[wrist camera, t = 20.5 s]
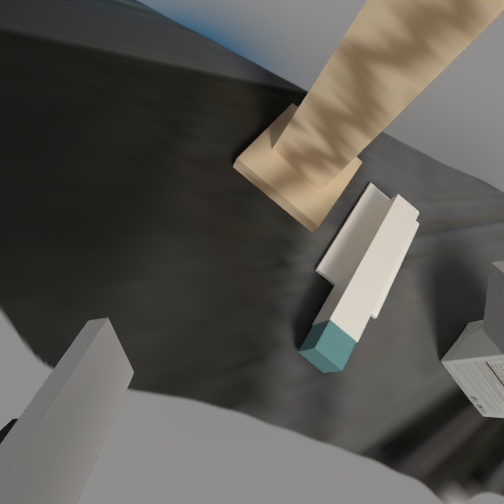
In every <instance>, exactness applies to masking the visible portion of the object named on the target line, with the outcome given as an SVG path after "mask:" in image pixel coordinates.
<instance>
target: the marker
mask: <svg viewBox="0 0 504 504" xmlns="http://www.w3.org/2000/svg"><path fill="white" fill-rule="evenodd" d="M419 213H420V212H419V211H417V210H416V209H415V208H414V207H413V206H412V205H410V204H409V203H408V202H407V201H406V200H405V199H403V198H402V197H401V196H400V195H399V194H398V195H396V196H395V197H393V198H392V199H391V200H389V201H388V202H386V203H385V204H384V205H382V206H381V207H379V209H378V211H377V212H376V214H375V216H374V218H373V219H372V221H371V223H370V225H369V226H368V228H367V230H366V232H365V233H364V235H363V237H362V239H361V240H360V242H359V244H358V246H357V247H356V249H355V251H354V253H353V254H352V256H351V258H350V260H349V261H348V263H347V265H346V266H345V268H344V270H343V272H342V273H341V275H340V277H339V279H338V280H337V282H336V284H335V286H334V287H333V289H332V291H331V293H330V294H329V296H328V298H327V300H326V301H325V303H324V305H323V307H322V308H321V310H320V312H319V313H318V315H317V317H316V319H315V320H314V322H313V324H312V326H313V327H312V328H311V330H310V332H309V334H308V335H307V337H306V339H305V341H304V342H303V344H302V346H301V348H300V350H299V351H298V352H299V353H300V354H301V355H302V356H304V357H305V358H306V359H307V360H308V361H310V362H311V363H312V364H313V365H315V366H316V367H317V368H318V369H320V370H321V371H322V372H323V373H325V372H335V371H342V370H343V368H344V366H345V364H346V362H347V360H348V358H349V356H350V354H351V351H352V349H353V347H354V345H355V343H356V342H358V341H359V339H360V336H361V334H362V332H363V330H364V328H365V326H366V324H367V322H368V320H369V318H370V315H371V313H372V311H373V309H374V307H375V305H376V303H377V301H378V299H379V297H380V294H381V292H382V290H383V288H384V286H385V284H386V282H387V280H388V278H389V276H390V273H391V271H392V269H393V267H394V265H395V263H396V261H397V259H398V257H399V255H400V252H401V250H402V248H403V246H404V244H405V242H406V240H407V238H408V236H409V234H410V231H411V229H412V227H413V225H414V223H415V221H416V219H417V217H418V215H419Z"/></svg>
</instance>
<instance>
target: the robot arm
mask: <svg viewBox="0 0 504 504" xmlns="http://www.w3.org/2000/svg"><path fill="white" fill-rule="evenodd" d="M482 330H483V331H484V332H485V333H486V335H487V336H488V337H489V338H490V339H491V340H492V342H493V343H494V344H495V345H496V346H497V347H498V349H499V350H500V351H501V352H502V353H503V354H504V261H498V262H491V267H490V274H489V282H488V289H487V297H486V304H485V312H484V319H483V327H482ZM133 374H134V371H133V369H132V367H131V365H130V363H129V361H128V359H127V357H126V355H125V352H124V350H123V348H122V346H121V344H120V342H119V340H118V338H117V335H116V333H115V331H114V329H113V327H112V325H111V323H110V321H109V319H108V318H103V319H96V320H89V321H88V322H87V323H86V325H85V326H84V328H83V329H82V330H81V332H80V333H79V335H78V336H77V337H76V339H75V340H74V342H73V343H72V344H71V346H70V347H69V349H68V350H67V351H66V353H65V354H64V356H63V357H62V358H61V360H60V361H59V363H58V364H57V365H56V367H55V368H54V370H53V371H52V372H51V374H50V376H49V377H48V378H47V380H46V381H45V382H44V384H43V385H42V387H41V388H40V389H39V391H38V392H37V394H36V395H35V396H34V398H33V399H32V401H31V402H30V403H29V405H28V406H27V408H26V409H25V410H24V412H23V413H22V415H21V416H20V417H19V419H12V420H11V421H10V422H9V423H8V424H7V425H6V426H5V427H4V428H3V429H2V430H1V431H0V504H77V502H78V500H79V498H80V495H81V493H82V491H83V489H84V486H85V484H86V482H87V479H88V477H89V475H90V472H91V470H92V468H93V466H94V463H95V461H96V459H97V456H98V454H99V452H100V450H101V447H102V445H103V443H104V440H105V438H106V436H107V434H108V431H109V429H110V427H111V424H112V422H113V420H114V417H115V415H116V413H117V411H118V408H119V406H120V404H121V401H122V399H123V397H124V394H125V392H126V390H127V388H128V385H129V383H130V381H131V378H132V376H133Z"/></svg>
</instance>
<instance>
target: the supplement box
mask: <svg viewBox="0 0 504 504" xmlns="http://www.w3.org/2000/svg"><path fill="white" fill-rule="evenodd" d="M482 327H483V320H479V321H474V322H470V323H468V324H467V326H466V328H465V329H464V331H463V332H462V334H461V335H460V337H459V338H458V339H457V341H456V342H455V343H454V344H453V346H452V347H451V348H450V350H449V351H448V352H447V353H446V354H445V356H444V357H443V358H442V359H441V363H442V364H443V365H444V367H445V368H446V369H447V371H448V372H449V373H450V375H451V376H452V377H453V379H454V380H455V381H456V383H457V384H458V385H459V387H460V388H461V389H462V390H463V392H464V393H465V394H466V396H467V397H468V398H469V399H470V401H471V402H472V403H473V405H474V406H475V407H476V408H477V410H478V411H479V412H480V413H481V415H482V416H486V417H500V418H504V354H503V353H502V352H501V351H500V350H499V349H498V347H497V346H496V345H495V344H494V343H493V342H492V340H491V339H490V338H489V337H488V336H487V335H486V333H485V332H484V331H483V330H482Z"/></svg>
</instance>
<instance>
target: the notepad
mask: <svg viewBox="0 0 504 504" xmlns="http://www.w3.org/2000/svg"><path fill="white" fill-rule="evenodd" d="M389 200H391V199H390V198H388V197H387V196H386V195H385V194H384V193H382V192H381V191H380V190H379V189H378V188H377V187H375V186H374V185H373V184H372V183H370V184H369V185H368V186H367V188H366V190H365V191H364V193H363V194H362V196H361V198H360V199H359V201H358V202H357V204H356V206H355V207H354V209H353V210H352V212H351V214H350V215H349V217H348V218H347V220H346V222H345V223H344V225H343V226H342V228H341V230H340V231H339V233H338V234H337V236H336V238H335V239H334V241H333V242H332V244H331V246H330V247H329V249H328V250H327V252H326V254H325V255H324V257H323V258H322V260H321V262H320V263H319V265H318V266H317V268H316V271H317V272H318V273H319V274H320V275H322V276H323V277H324V278H325V279H326V280H328V281H329V282H330V283H331V284H333V285H334V286H335V284H336V282H337V280H338V279H339V277H340V275H341V273H342V272H343V270H344V268H345V266H346V265H347V263H348V261H349V260H350V258H351V256H352V254H353V253H354V251H355V249H356V247H357V246H358V244H359V242H360V240H361V239H362V237H363V235H364V233H365V232H366V230H367V228H368V226H369V225H370V223H371V221H372V219H373V218H374V216H375V214H376V212H377V211H378V209H379V207H381V206H382V205H384V204H385V203H386V202H388V201H389ZM418 226H419V223H418V222H417V221H415V223H414V225H413V227H412V229H411V231H410V234H409V236H408V238H407V240H406V242H405V244H404V246H403V248H402V250H401V252H400V255H399V257H398V259H397V261H396V263H395V265H394V267H393V269H392V271H391V273H390V276H389V278H388V280H387V282H386V284H385V286H384V288H383V290H382V292H381V294H380V297H379V299H378V301H377V303H376V305H375V307H374V309H373V311H372V313H371V315H370V316H371V317H373V318H374V319H375V318H377V316H378V313H379V311H380V309H381V307H382V305H383V303H384V300H385V298H386V296H387V294H388V292H389V289H390V287H391V285H392V283H393V281H394V279H395V276H396V274H397V272H398V270H399V268H400V265H401V263H402V261H403V259H404V257H405V255H406V252H407V250H408V248H409V246H410V244H411V241H412V239H413V237H414V235H415V233H416V230H417V228H418Z"/></svg>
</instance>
